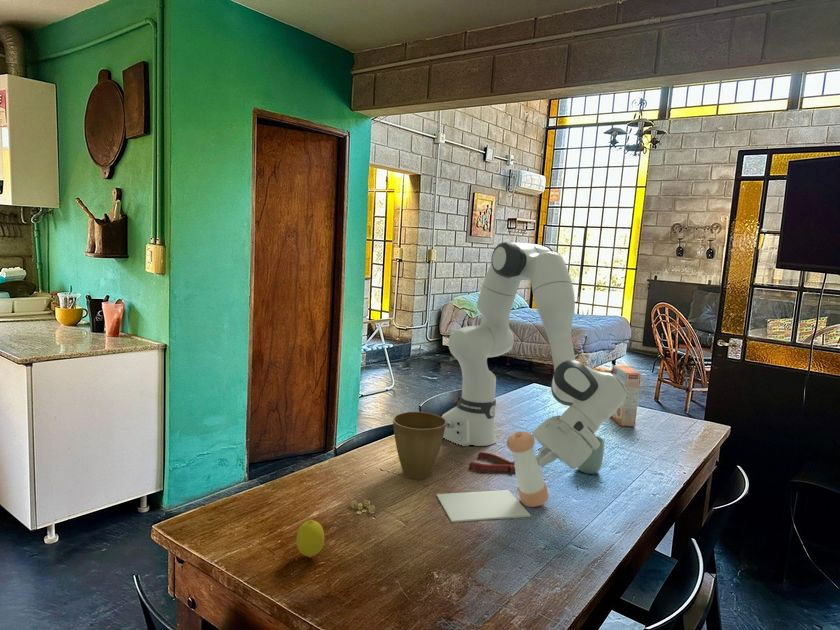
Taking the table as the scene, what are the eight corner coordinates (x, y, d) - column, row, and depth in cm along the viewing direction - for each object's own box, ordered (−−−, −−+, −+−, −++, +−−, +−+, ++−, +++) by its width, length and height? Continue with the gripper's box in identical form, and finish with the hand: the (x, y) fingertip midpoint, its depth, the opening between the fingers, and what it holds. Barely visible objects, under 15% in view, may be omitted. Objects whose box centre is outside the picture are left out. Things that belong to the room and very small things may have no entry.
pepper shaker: (518, 507, 141) (500, 440, 136) (523, 489, 147) (507, 426, 143) (546, 506, 138) (529, 439, 133) (550, 489, 144) (534, 424, 140)
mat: (508, 491, 148) (508, 489, 148) (530, 516, 135) (530, 515, 135) (436, 495, 144) (436, 494, 144) (451, 522, 130) (451, 520, 130)
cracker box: (636, 427, 210) (641, 373, 207) (620, 426, 210) (625, 372, 207) (623, 416, 224) (628, 365, 221) (608, 415, 224) (613, 364, 221)
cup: (603, 478, 160) (606, 445, 159) (575, 474, 162) (578, 441, 161) (600, 468, 168) (602, 436, 167) (573, 464, 169) (576, 433, 168)
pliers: (536, 485, 154) (536, 476, 154) (467, 470, 162) (467, 462, 162) (543, 471, 165) (544, 462, 164) (478, 458, 172) (479, 450, 172)
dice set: (350, 508, 136) (350, 500, 136) (370, 506, 138) (370, 498, 137) (354, 518, 131) (354, 510, 131) (375, 515, 133) (375, 508, 133)
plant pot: (379, 473, 156) (381, 418, 154) (415, 459, 167) (418, 408, 165) (418, 490, 146) (421, 432, 144) (453, 475, 157) (457, 420, 155)
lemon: (298, 549, 115) (298, 513, 114) (324, 549, 116) (325, 513, 115) (294, 565, 110) (295, 527, 109) (322, 564, 110) (323, 527, 109)
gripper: (549, 406, 152) (514, 441, 151) (589, 431, 132) (548, 472, 131) (563, 421, 153) (528, 456, 152) (604, 448, 134) (564, 489, 132)
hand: (537, 464), depth 141 cm, fingers closed
